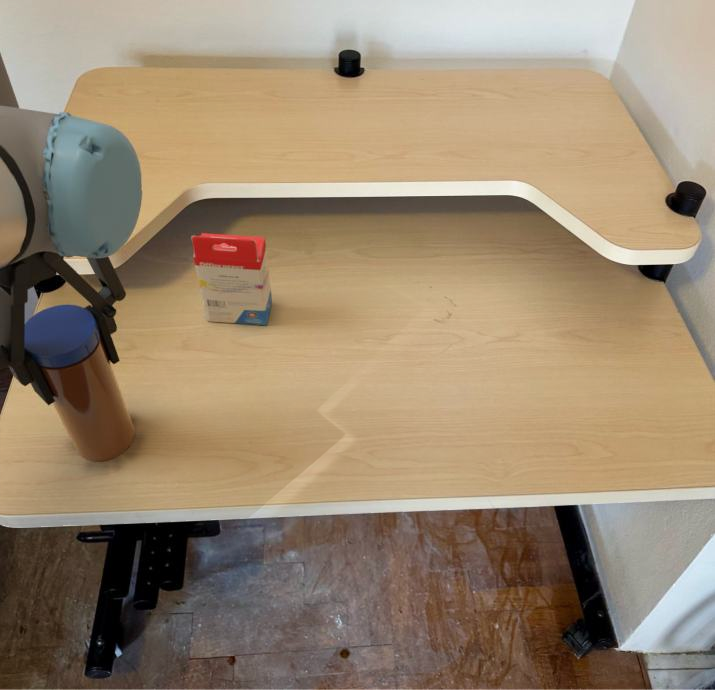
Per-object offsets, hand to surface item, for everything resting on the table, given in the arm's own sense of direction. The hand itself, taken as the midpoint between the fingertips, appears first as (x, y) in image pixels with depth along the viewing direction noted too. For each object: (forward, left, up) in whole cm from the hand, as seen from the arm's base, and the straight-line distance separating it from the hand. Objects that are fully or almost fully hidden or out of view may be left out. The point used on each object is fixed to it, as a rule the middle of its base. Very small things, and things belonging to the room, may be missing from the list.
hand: (78, 375), depth 70 cm
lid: (0, 0, +7) cm, 7 cm away
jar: (0, 0, -11) cm, 11 cm away
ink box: (+24, +5, -11) cm, 27 cm away
